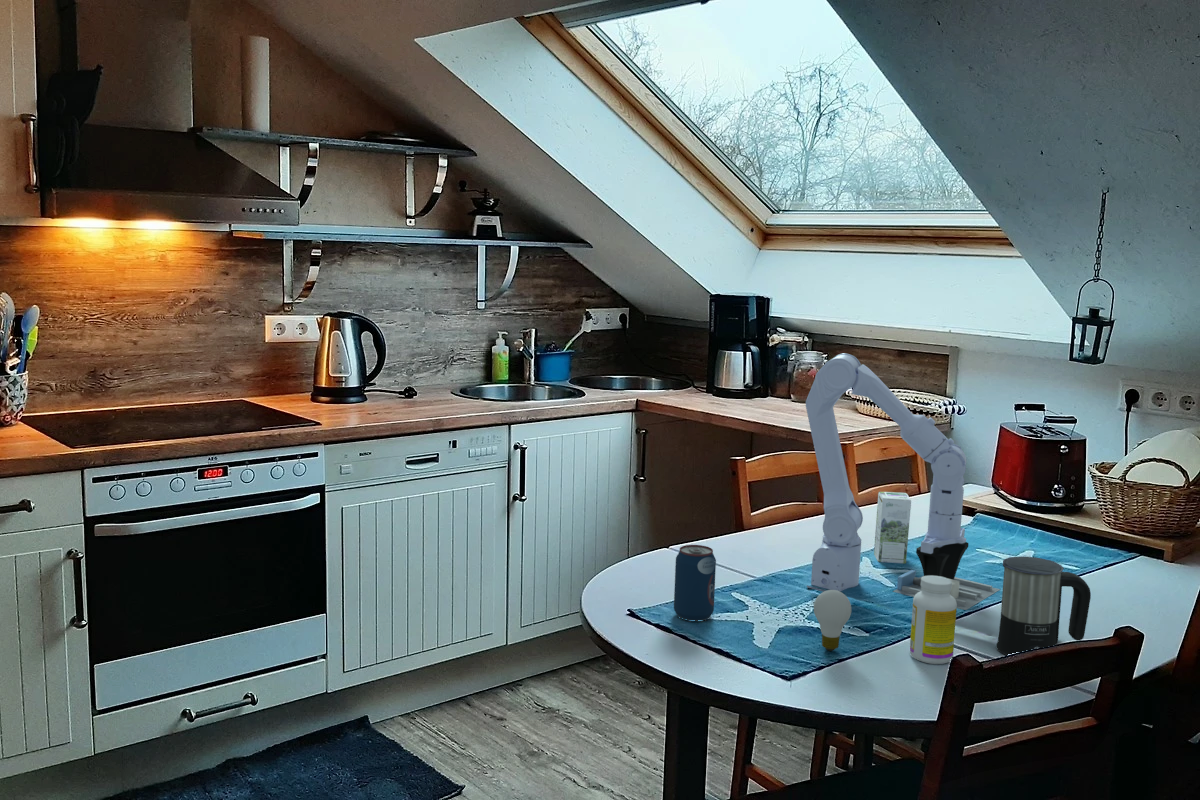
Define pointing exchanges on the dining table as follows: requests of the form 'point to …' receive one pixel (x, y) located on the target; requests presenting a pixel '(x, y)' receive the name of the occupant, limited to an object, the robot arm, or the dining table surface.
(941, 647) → the supplement bottle
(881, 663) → the dining table surface
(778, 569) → the dining table surface
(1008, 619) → the milk frother
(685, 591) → the soda can
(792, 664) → the dining table surface
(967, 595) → the grey flat ridged plate
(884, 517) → the syrup box
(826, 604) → the light bulb
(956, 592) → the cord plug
